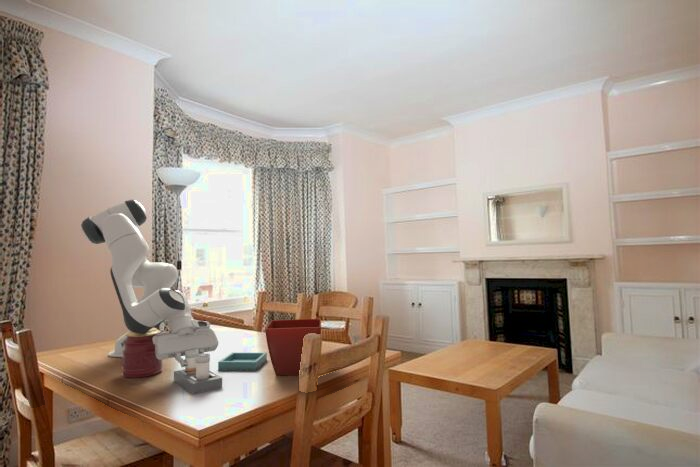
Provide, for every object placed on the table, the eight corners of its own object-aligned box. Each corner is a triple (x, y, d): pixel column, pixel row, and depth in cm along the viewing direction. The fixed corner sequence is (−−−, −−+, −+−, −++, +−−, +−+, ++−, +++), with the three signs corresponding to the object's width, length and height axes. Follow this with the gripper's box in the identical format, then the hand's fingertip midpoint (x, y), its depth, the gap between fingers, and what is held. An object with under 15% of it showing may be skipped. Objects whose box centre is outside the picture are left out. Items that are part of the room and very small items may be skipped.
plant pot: (271, 363, 152) (271, 319, 153) (321, 362, 154) (321, 318, 154) (264, 379, 133) (264, 328, 134) (321, 377, 134) (321, 327, 135)
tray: (218, 370, 144) (218, 361, 144) (232, 360, 158) (232, 352, 158) (256, 370, 143) (256, 362, 143) (266, 360, 157) (266, 352, 157)
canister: (144, 379, 134) (145, 326, 135) (112, 377, 137) (113, 325, 138) (170, 368, 147) (171, 320, 148) (140, 367, 150) (141, 319, 151)
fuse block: (173, 380, 133) (173, 370, 133) (200, 374, 139) (200, 364, 139) (193, 394, 119) (193, 382, 120) (222, 387, 125) (222, 376, 125)
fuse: (193, 389, 124) (193, 356, 124) (199, 384, 128) (199, 353, 128) (206, 389, 123) (206, 356, 124) (211, 385, 128) (212, 353, 128)
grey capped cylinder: (183, 382, 130) (182, 351, 131) (189, 378, 135) (188, 348, 135) (195, 382, 130) (194, 351, 131) (201, 378, 134) (200, 348, 135)
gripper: (153, 328, 132) (161, 364, 124) (213, 321, 145) (224, 353, 137) (149, 340, 135) (157, 376, 127) (208, 332, 148) (219, 364, 140)
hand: (192, 364), depth 132 cm, fingers closed on grey capped cylinder, 4 cm apart
